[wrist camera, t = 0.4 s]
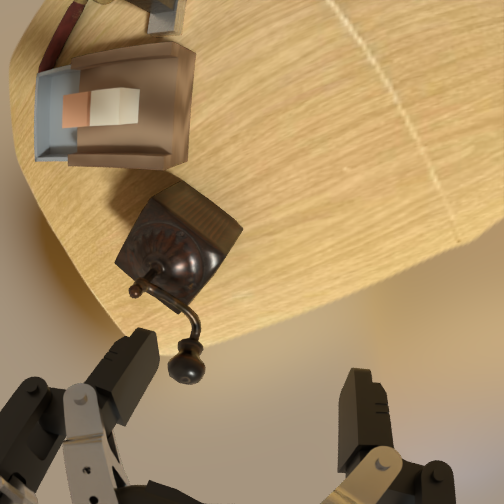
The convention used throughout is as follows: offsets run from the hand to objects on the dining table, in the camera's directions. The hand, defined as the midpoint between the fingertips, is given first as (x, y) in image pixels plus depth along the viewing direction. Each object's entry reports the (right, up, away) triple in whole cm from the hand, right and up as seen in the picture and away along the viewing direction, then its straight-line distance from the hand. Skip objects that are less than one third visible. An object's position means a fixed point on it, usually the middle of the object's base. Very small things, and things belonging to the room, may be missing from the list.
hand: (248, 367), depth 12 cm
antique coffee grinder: (-6, +6, +30) cm, 31 cm away
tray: (-27, +25, +25) cm, 44 cm away
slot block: (-14, +23, +23) cm, 36 cm away
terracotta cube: (-19, +22, +19) cm, 35 cm away
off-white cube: (-15, +21, +19) cm, 32 cm away
